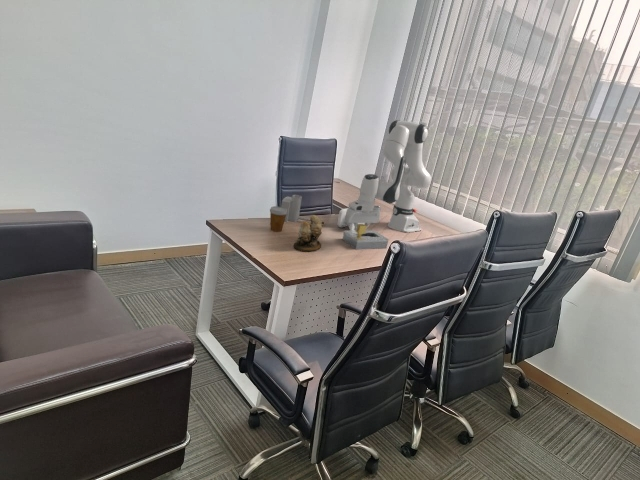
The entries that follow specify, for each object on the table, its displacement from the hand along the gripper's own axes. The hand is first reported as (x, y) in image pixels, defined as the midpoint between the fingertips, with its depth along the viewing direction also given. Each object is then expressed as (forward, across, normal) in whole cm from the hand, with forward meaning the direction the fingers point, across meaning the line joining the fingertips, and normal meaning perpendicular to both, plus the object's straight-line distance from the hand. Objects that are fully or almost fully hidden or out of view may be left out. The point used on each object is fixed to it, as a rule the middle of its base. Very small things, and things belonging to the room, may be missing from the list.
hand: (360, 230), depth 216 cm
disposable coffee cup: (+8, +38, -23) cm, 46 cm away
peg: (+8, 0, 0) cm, 8 cm away
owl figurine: (+8, +30, +1) cm, 32 cm away
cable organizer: (+8, -10, -24) cm, 27 cm away
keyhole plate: (+8, -5, 0) cm, 9 cm away
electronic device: (+8, +17, -35) cm, 40 cm away
